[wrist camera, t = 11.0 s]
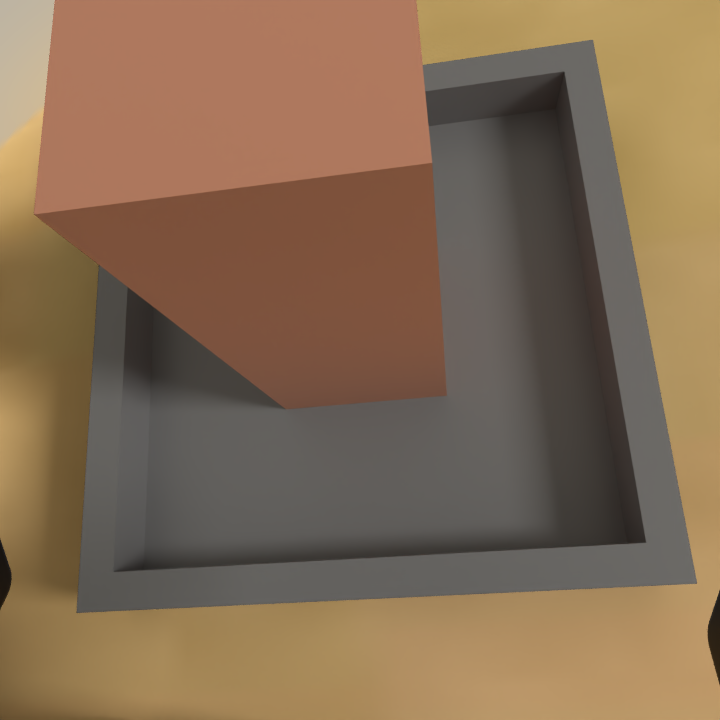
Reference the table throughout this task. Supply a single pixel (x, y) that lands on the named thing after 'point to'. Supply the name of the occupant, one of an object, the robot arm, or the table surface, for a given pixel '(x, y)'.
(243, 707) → the table surface
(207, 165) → the column
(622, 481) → the tray
